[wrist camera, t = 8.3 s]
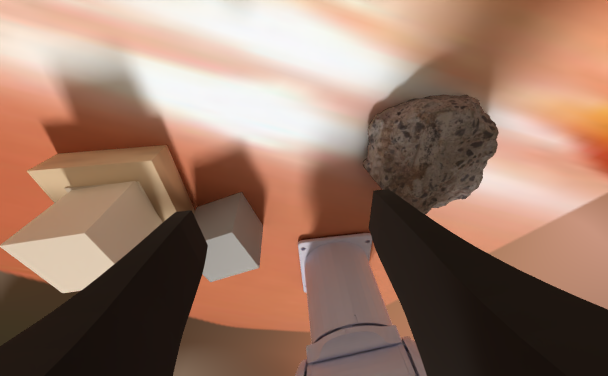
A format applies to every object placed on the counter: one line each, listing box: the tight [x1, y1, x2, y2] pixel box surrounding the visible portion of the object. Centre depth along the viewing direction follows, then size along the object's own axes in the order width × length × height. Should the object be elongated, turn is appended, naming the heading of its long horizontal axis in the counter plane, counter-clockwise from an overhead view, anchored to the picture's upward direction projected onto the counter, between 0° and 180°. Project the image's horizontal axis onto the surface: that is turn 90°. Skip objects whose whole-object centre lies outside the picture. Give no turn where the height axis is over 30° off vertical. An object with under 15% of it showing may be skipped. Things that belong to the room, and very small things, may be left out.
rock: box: [363, 95, 498, 214], centre depth 18 cm, size 9×11×4 cm
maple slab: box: [27, 145, 195, 222], centre depth 19 cm, size 8×8×3 cm
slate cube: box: [194, 192, 263, 282], centre depth 20 cm, size 4×4×5 cm
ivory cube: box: [0, 181, 163, 293], centre depth 15 cm, size 4×4×5 cm
